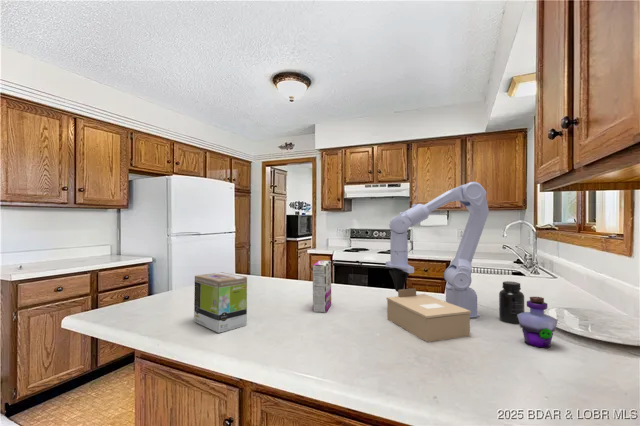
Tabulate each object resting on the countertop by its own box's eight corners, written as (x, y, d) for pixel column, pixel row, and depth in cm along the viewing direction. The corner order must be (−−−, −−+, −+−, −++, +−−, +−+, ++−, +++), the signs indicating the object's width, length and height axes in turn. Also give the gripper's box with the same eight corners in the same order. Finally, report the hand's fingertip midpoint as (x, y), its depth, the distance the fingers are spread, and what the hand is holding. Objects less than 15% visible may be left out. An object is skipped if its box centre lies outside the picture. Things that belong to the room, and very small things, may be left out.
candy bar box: (318, 303, 120) (318, 260, 120) (331, 304, 118) (331, 260, 119) (311, 312, 109) (311, 264, 109) (326, 313, 108) (326, 264, 108)
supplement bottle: (494, 317, 102) (494, 280, 103) (514, 317, 103) (514, 280, 103) (508, 324, 96) (508, 285, 96) (530, 324, 96) (529, 284, 96)
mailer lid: (424, 295, 106) (424, 287, 106) (470, 313, 87) (470, 302, 87) (386, 299, 102) (386, 290, 102) (426, 318, 82) (426, 307, 82)
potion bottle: (540, 353, 76) (539, 302, 76) (509, 339, 84) (509, 294, 84) (567, 349, 78) (566, 300, 78) (535, 336, 86) (534, 292, 86)
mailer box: (424, 314, 106) (424, 296, 106) (470, 335, 87) (469, 313, 87) (387, 318, 101) (387, 300, 101) (426, 342, 82) (426, 318, 82)
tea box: (248, 325, 95) (248, 276, 96) (217, 334, 88) (217, 281, 88) (222, 315, 106) (222, 270, 106) (192, 322, 98) (193, 274, 99)
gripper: (378, 249, 114) (378, 287, 113) (400, 253, 100) (400, 297, 100) (395, 248, 116) (395, 286, 115) (419, 253, 102) (419, 295, 102)
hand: (399, 291), depth 108 cm, fingers closed
